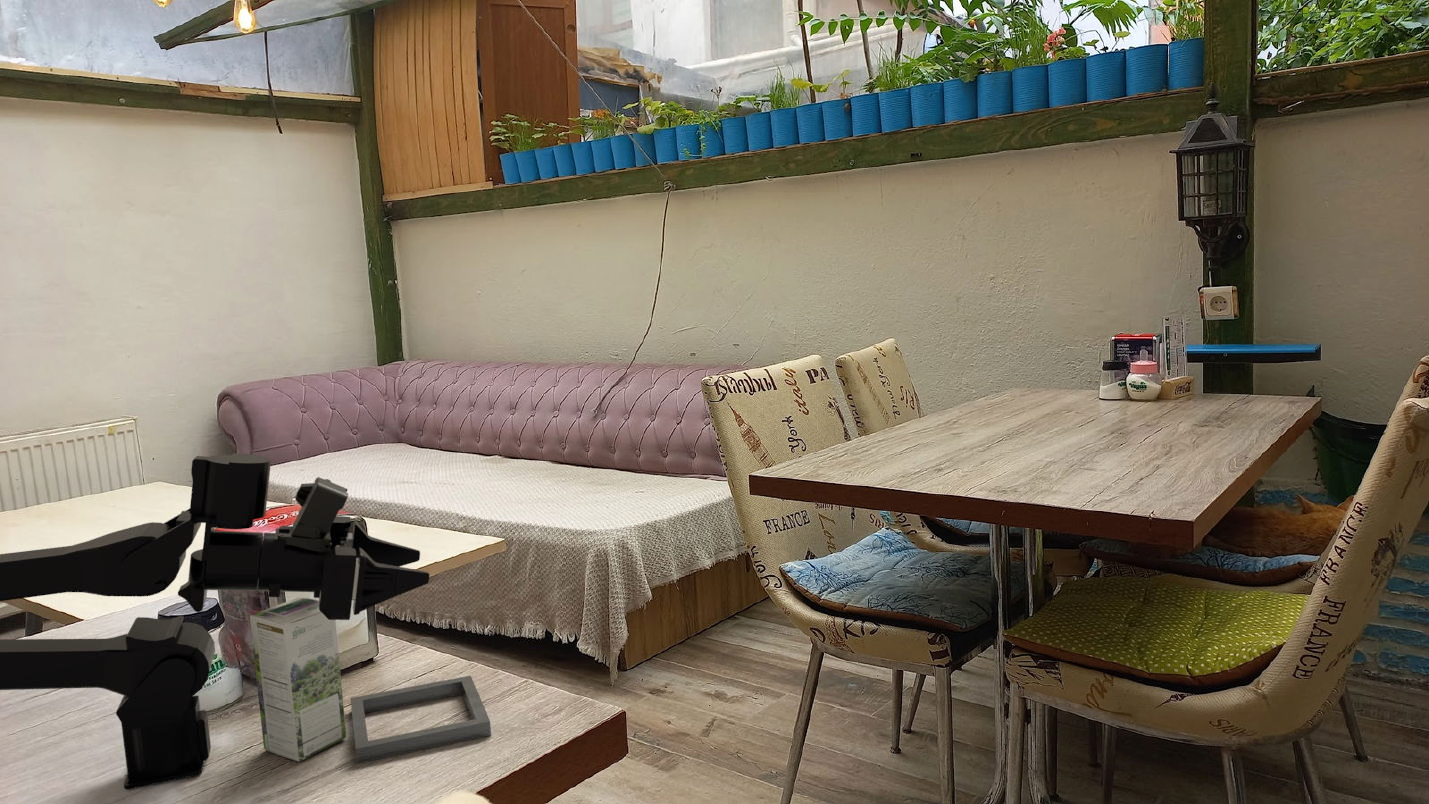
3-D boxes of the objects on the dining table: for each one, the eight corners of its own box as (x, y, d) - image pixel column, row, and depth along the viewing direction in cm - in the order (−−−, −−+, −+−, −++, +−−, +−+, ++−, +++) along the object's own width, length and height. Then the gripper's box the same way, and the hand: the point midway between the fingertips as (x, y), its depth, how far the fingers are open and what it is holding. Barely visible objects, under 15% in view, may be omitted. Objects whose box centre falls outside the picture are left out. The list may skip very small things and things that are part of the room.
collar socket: (356, 763, 94) (355, 749, 94) (351, 711, 106) (350, 698, 106) (491, 735, 99) (490, 721, 99) (471, 688, 111) (470, 675, 111)
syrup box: (312, 726, 102) (297, 594, 100) (349, 739, 99) (334, 602, 97) (263, 751, 97) (246, 613, 95) (300, 764, 94) (283, 622, 92)
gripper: (264, 499, 87) (443, 508, 93) (273, 466, 104) (423, 475, 110) (252, 621, 87) (430, 622, 93) (262, 568, 104) (412, 572, 111)
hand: (424, 566), depth 102 cm, fingers open, 9 cm apart
